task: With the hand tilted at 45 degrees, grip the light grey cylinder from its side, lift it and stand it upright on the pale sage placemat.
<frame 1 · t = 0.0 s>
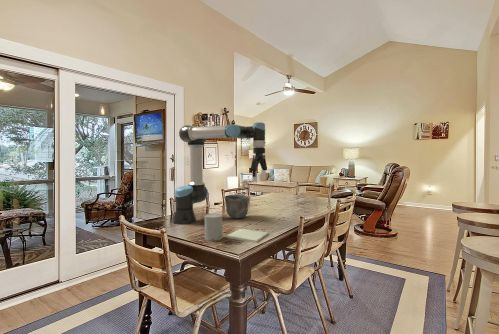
hand: (259, 181, 174), 28 cm above the table, tool pointing down, fingers open, 13 cm apart
sage placemat: (247, 235, 152), on the table
light grey cylinder: (213, 238, 149), on the table
grey round pot: (236, 217, 197), on the table
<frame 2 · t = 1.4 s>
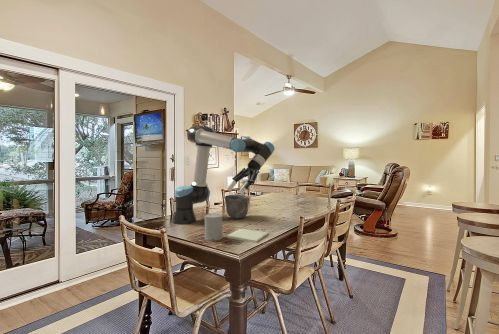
hand: (234, 191, 155), 24 cm above the table, tool tilted 45°, fingers open, 13 cm apart
nothing on the table moved.
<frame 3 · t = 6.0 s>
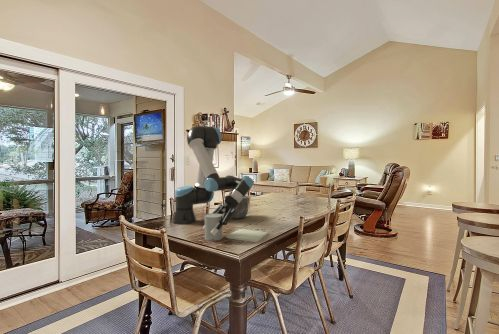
hand: (208, 231, 147), 4 cm above the table, tool tilted 45°, fingers closed on light grey cylinder, 9 cm apart
light grey cylinder: (213, 238, 149), on the table, touching gripper
everything else where it was.
when the fingers open (6 cm above the table, at t = 11.9 s): light grey cylinder stays where it is, resting on sage placemat.
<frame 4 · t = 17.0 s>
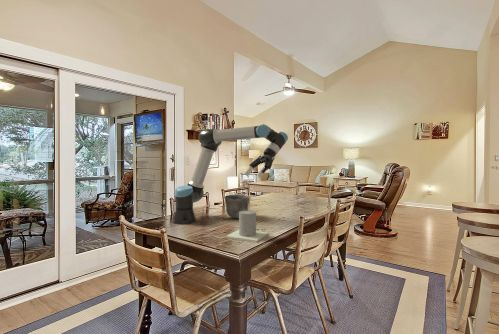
hand: (252, 175, 171), 32 cm above the table, tool tilted 45°, fingers open, 13 cm apart
light grey cylinder: (247, 234, 152), point 1 cm above the table, touching sage placemat
everything else where it was.
at the end: light grey cylinder inside the target area on the sage placemat (0.1 cm from its centre), point 0.8 cm above the sage placemat's base; light grey cylinder tilted 0°; the gripper is holding nothing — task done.
